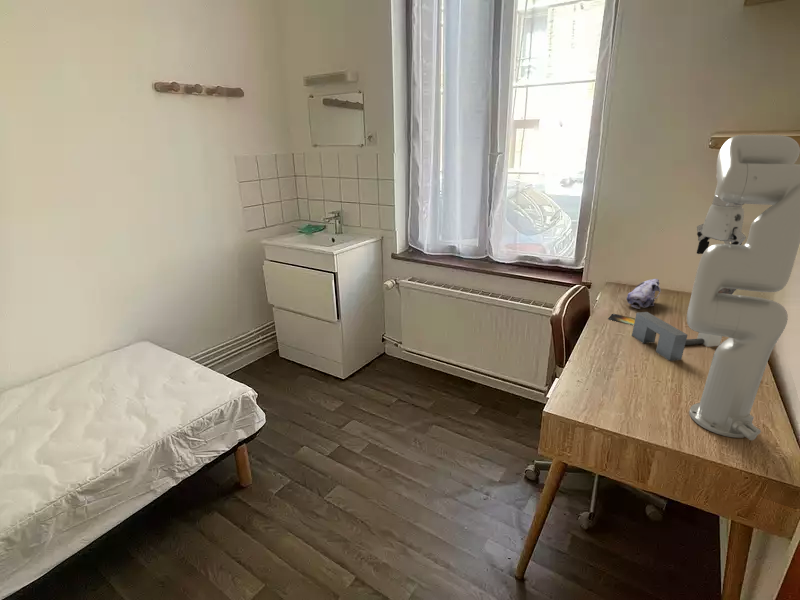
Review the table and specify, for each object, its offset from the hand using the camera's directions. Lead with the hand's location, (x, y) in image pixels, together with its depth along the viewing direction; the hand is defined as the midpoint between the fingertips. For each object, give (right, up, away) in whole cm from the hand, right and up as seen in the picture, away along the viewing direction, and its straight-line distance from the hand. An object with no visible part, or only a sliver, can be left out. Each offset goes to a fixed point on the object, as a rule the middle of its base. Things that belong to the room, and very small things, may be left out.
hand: (713, 257), depth 138 cm
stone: (+20, -18, +32) cm, 42 cm away
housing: (-16, -29, +4) cm, 33 cm away
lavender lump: (-1, -16, +38) cm, 41 cm away
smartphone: (-14, -22, +23) cm, 35 cm away
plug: (-3, -28, +6) cm, 29 cm away
